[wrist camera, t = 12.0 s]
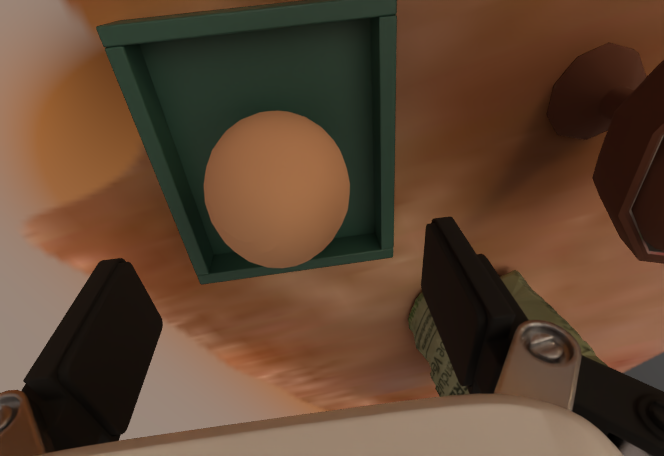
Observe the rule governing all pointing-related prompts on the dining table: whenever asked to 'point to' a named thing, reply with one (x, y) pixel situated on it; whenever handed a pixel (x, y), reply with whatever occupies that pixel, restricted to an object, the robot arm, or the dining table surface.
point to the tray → (265, 108)
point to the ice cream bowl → (620, 138)
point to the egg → (276, 188)
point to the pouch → (435, 350)
